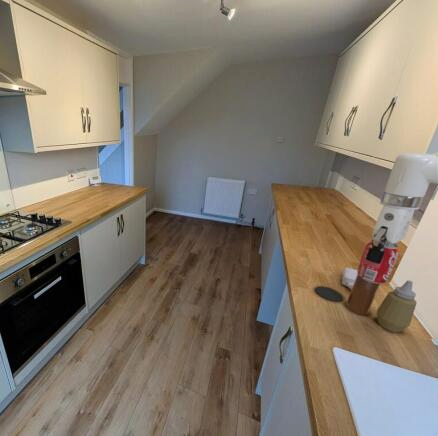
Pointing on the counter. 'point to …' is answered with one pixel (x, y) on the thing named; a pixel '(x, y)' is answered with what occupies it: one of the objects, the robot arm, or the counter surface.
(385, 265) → the soda can
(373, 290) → the stoneware bottle
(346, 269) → the charger
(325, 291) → the coaster
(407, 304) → the squeeze bottle
